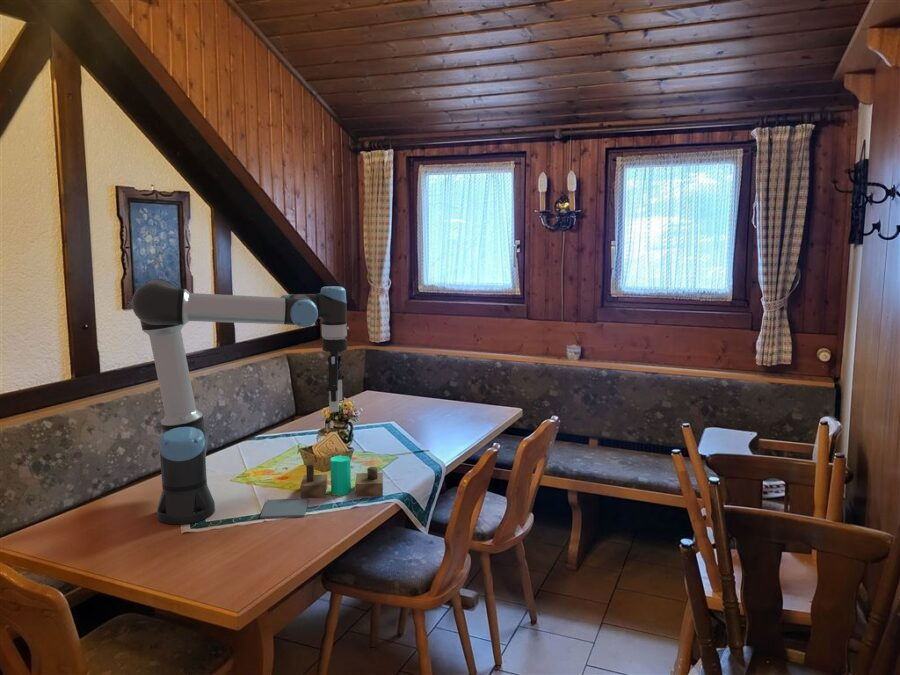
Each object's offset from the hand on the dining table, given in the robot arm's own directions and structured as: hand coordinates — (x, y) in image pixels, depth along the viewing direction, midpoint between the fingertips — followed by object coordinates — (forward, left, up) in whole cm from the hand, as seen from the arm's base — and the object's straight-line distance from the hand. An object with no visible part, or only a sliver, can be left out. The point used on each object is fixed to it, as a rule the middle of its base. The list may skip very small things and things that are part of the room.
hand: (336, 405), depth 222 cm
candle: (+2, -8, -25) cm, 26 cm away
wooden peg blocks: (+2, -8, -25) cm, 26 cm away
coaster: (-13, -20, -25) cm, 35 cm away
